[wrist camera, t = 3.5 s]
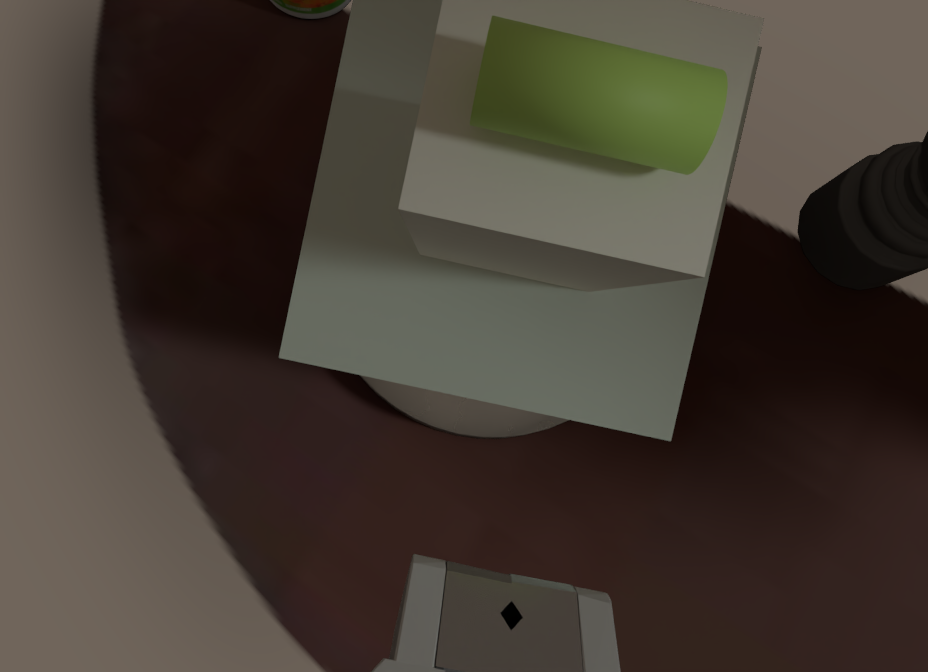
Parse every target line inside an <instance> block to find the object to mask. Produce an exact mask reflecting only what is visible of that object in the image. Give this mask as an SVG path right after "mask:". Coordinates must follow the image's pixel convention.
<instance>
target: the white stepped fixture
mask: <svg viewBox="0 0 928 672" xmlns="http://www.w3.org/2000/svg"><path fill="white" fill-rule="evenodd" d="M763 21H764V18H759V17H755V16H751V15H747V14H743V13H738V12H734V11H730V10H725V9H721V8H718V7H713V6H709V5H705V4H701V3H697V2H692V1H688V0H353V3H352V8H351V13H350V17H349V22H348V27H347V32H346V37H345V41H344V46H343V51H342V56H341V61H340V65H339V70H338V75H337V80H336V85H335V89H334V94H333V99H332V104H331V109H330V113H329V118H328V123H327V128H326V133H325V137H324V142H323V147H322V152H321V157H320V161H319V166H318V171H317V176H316V181H315V185H314V190H313V195H312V200H311V205H310V209H309V214H308V219H307V224H306V229H305V233H304V238H303V243H302V248H301V253H300V257H299V262H298V267H297V272H296V276H295V281H294V286H293V291H292V296H291V300H290V305H289V310H288V315H287V320H286V324H285V329H284V334H283V339H282V344H281V348H280V353H279V358H282V359H287V360H292V361H296V362H301V363H306V364H310V365H315V366H320V367H324V368H329V369H334V370H339V371H343V372H348V373H353V374H357V375H362V376H367V377H371V378H376V379H381V380H385V381H390V382H395V383H399V384H404V385H409V386H414V387H418V388H423V389H428V390H432V391H437V392H442V393H446V394H451V395H456V396H460V397H465V398H470V399H474V400H479V401H484V402H489V403H493V404H498V405H503V406H507V407H512V408H517V409H521V410H526V411H531V412H535V413H540V414H545V415H549V416H554V417H559V418H564V419H568V420H573V421H578V422H582V423H587V424H592V425H596V426H601V427H606V428H610V429H615V430H620V431H624V432H629V433H634V434H639V435H643V436H648V437H653V438H657V439H662V440H667V441H671V439H672V435H673V430H674V426H675V422H676V417H677V413H678V409H679V404H680V400H681V396H682V391H683V387H684V383H685V378H686V374H687V370H688V365H689V361H690V357H691V352H692V348H693V344H694V339H695V335H696V330H697V326H698V322H699V317H700V313H701V309H702V304H703V300H704V296H705V291H706V287H707V283H708V278H709V274H710V270H711V265H712V261H713V257H714V252H715V248H716V244H717V239H718V235H719V231H720V226H721V222H722V218H723V213H724V209H725V205H726V200H727V196H728V192H729V187H730V183H731V179H732V174H733V170H734V166H735V161H736V157H737V153H738V148H739V144H740V139H741V135H742V131H743V126H744V122H745V118H746V113H747V109H748V105H749V100H750V96H751V92H752V87H753V83H754V79H755V74H756V69H757V66H758V61H759V57H760V53H761V48H762V47H759V46H758V43H759V39H760V34H761V29H762V25H763Z"/></svg>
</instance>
